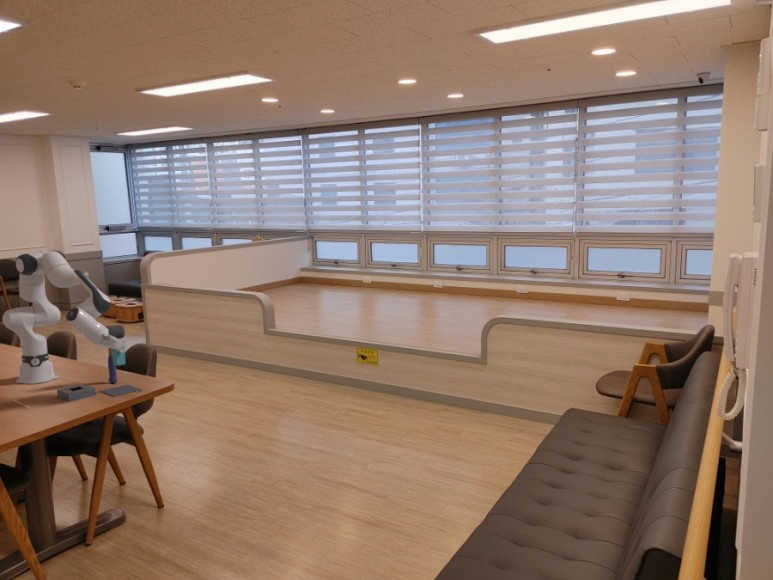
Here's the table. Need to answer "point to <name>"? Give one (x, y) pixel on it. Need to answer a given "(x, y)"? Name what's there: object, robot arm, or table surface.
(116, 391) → the pad
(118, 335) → the rubber mallet
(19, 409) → the table surface
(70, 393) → the socket base
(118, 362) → the peg
